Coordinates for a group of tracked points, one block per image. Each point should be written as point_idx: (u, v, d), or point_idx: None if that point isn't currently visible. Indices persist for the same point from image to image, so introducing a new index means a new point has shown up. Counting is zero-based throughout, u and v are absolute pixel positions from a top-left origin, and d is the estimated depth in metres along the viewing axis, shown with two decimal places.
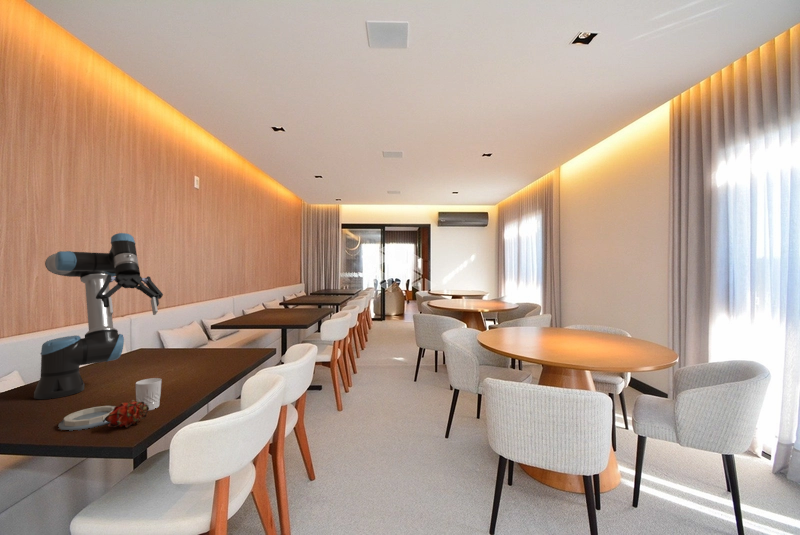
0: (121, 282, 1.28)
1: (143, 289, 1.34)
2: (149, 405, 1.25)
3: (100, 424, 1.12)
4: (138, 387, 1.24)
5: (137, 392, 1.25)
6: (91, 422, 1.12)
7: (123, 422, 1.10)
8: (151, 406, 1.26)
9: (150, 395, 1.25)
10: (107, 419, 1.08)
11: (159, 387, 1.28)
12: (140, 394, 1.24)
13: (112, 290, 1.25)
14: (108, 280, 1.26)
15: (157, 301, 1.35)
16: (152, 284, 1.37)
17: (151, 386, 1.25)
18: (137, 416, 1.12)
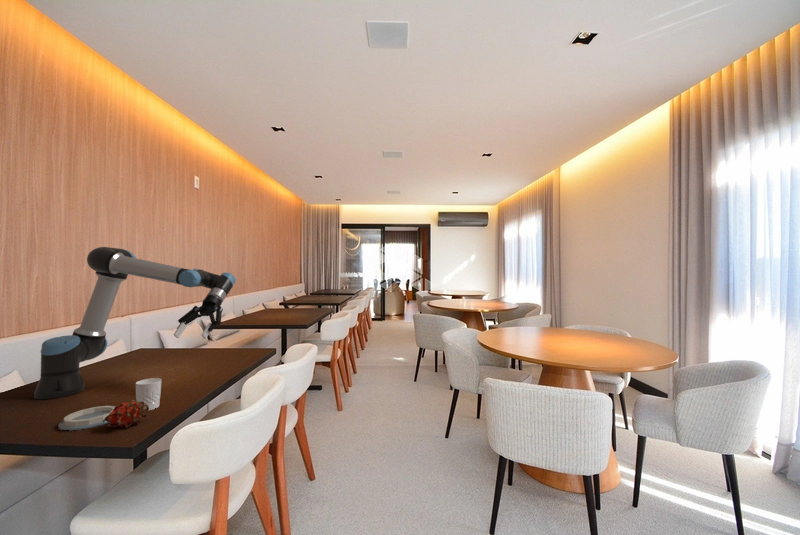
0: None
1: (195, 317, 1.56)
2: (149, 405, 1.25)
3: (100, 424, 1.12)
4: (138, 387, 1.24)
5: (137, 392, 1.25)
6: (91, 422, 1.12)
7: (123, 422, 1.10)
8: (151, 406, 1.26)
9: (150, 395, 1.25)
10: (107, 419, 1.08)
11: (159, 387, 1.28)
12: (140, 394, 1.24)
13: None
14: None
15: None
16: None
17: (151, 386, 1.25)
18: (137, 416, 1.12)
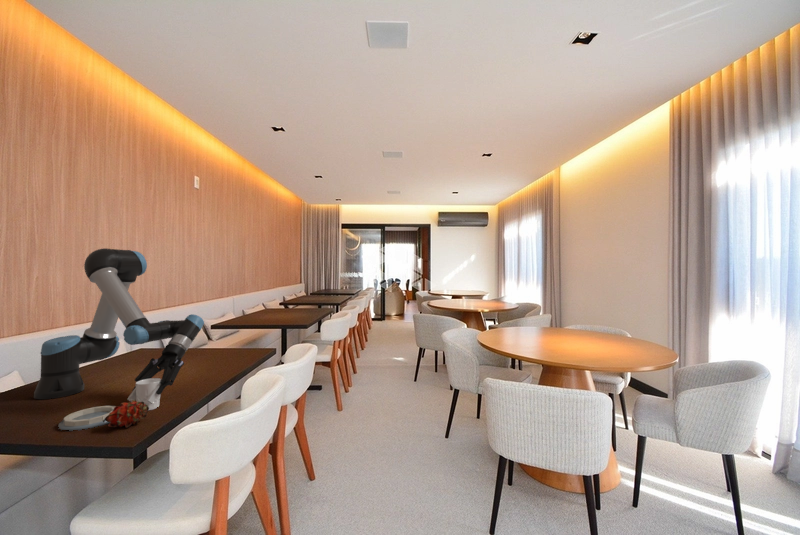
0: None
1: (154, 373, 1.34)
2: (149, 405, 1.25)
3: (100, 424, 1.12)
4: (138, 387, 1.24)
5: (137, 392, 1.25)
6: (91, 422, 1.12)
7: (123, 422, 1.10)
8: (151, 406, 1.26)
9: None
10: (107, 419, 1.08)
11: None
12: (140, 394, 1.24)
13: None
14: None
15: None
16: None
17: (151, 386, 1.25)
18: (137, 416, 1.12)
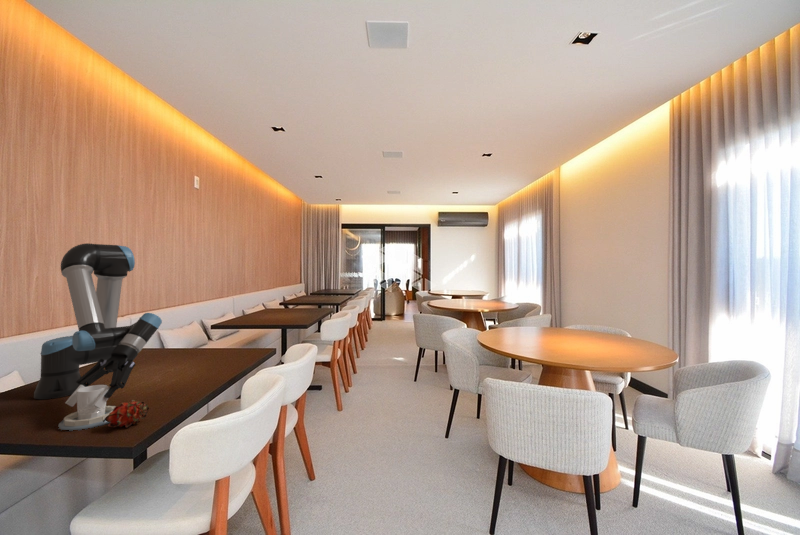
0: None
1: (99, 375, 1.23)
2: (91, 415, 1.14)
3: (100, 424, 1.12)
4: (79, 395, 1.13)
5: (78, 400, 1.13)
6: (91, 422, 1.12)
7: (123, 422, 1.10)
8: (93, 415, 1.15)
9: (92, 404, 1.14)
10: (107, 419, 1.08)
11: None
12: (81, 403, 1.13)
13: None
14: None
15: None
16: None
17: (93, 394, 1.14)
18: (137, 416, 1.12)
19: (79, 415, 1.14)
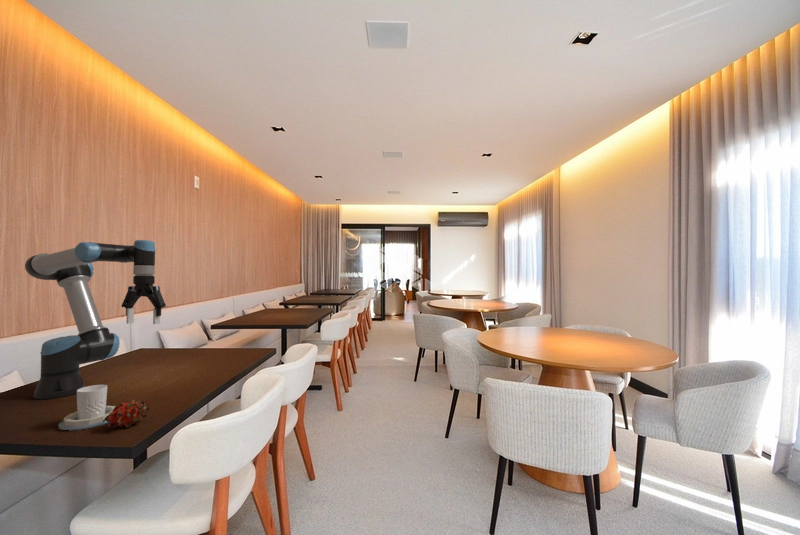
0: None
1: (136, 299, 1.52)
2: (91, 415, 1.14)
3: (100, 424, 1.12)
4: (79, 395, 1.13)
5: (78, 400, 1.13)
6: (91, 422, 1.12)
7: (123, 422, 1.10)
8: (93, 415, 1.15)
9: (92, 404, 1.14)
10: (107, 419, 1.08)
11: (104, 395, 1.17)
12: (81, 403, 1.13)
13: None
14: None
15: None
16: None
17: (93, 394, 1.14)
18: (137, 416, 1.12)
19: (79, 415, 1.14)
